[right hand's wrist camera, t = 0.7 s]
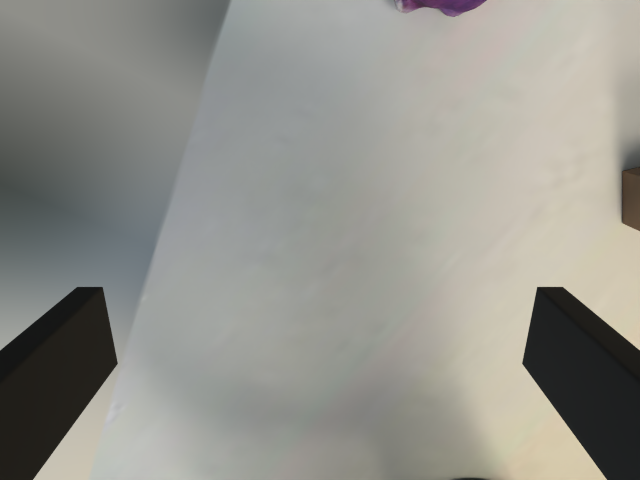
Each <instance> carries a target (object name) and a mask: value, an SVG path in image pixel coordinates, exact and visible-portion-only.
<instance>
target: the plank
mask: <svg viewBox="0 0 640 480" xmlns="http://www.w3.org/2000/svg"><path fill="white" fill-rule="evenodd" d="M623 224H625V225H627V226H630V227H632V228H634V229H636V230H638V231H640V167H638V168H634V169H629V170H625V171H623Z"/></svg>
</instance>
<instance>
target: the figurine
mask: <svg viewBox="0 0 640 480" xmlns="http://www.w3.org/2000/svg"><path fill="white" fill-rule="evenodd" d="M485 1H486V0H394V2H395V6H396V8H397V10H398V11H400V12H402V13H408V12H411V11H413V10H416V9H418V8H421V7H430V8H439V9H440V10H441V11H442V12H443V13H444V14H445V15H447V16H452V17H455V16H458V15H460V14H462V13H464V12H466V11H469V10H472V9H475V8H477V7H478V6H480V5H481V4H482V3H484V2H485Z"/></svg>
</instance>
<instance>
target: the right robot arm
mask: <svg viewBox="0 0 640 480" xmlns="http://www.w3.org/2000/svg"><path fill="white" fill-rule="evenodd" d="M117 364H118V363H117V358H116V353H115V347H114V342H113V338H112V332H111V327H110V322H109V317H108V312H107V307H106V302H105V297H104V292H103V287H77V288H76V289H74V290H73V291H72V292H71V293H69V294H68V295H67V296H66V297H65V298H63V299H62V300H61V301H60V302H59V303H57V304H56V305H55V306H54V307H52V308H51V309H50V310H49V311H48V312H46V313H45V314H44V315H43V316H42V317H40V318H39V319H38V320H37V321H35V322H34V323H33V324H32V325H31V326H29V327H28V328H27V329H26V330H25V331H23V332H22V333H21V334H20V335H19V336H17V337H16V338H15V339H14V340H12V341H11V342H10V343H9V344H8V345H6V346H5V347H4V348H3V349H2V350H0V480H33V479H34V477H35V476H36V475H37V473H38V472H39V471H40V469H41V468H42V467H43V465H44V464H45V462H46V461H47V460H48V458H49V457H50V456H51V454H52V453H53V451H54V450H55V449H56V447H57V446H58V445H59V443H60V442H61V440H62V439H63V438H64V436H65V435H66V434H67V432H68V431H69V430H70V428H71V427H72V425H73V424H74V423H75V421H76V420H77V419H78V417H79V416H80V415H81V413H82V412H83V410H84V409H85V408H86V406H87V405H88V404H89V402H90V401H91V399H92V398H93V397H94V395H95V394H96V393H97V391H98V390H99V389H100V387H101V386H102V384H103V383H104V382H105V380H106V379H107V378H108V376H109V375H110V373H111V372H112V371H113V369H114V368H115V367H116V365H117ZM522 364H523V365H524V367H525V368H526V369H527V371H528V372H529V373H530V375H531V376H532V378H533V379H534V380H535V382H536V383H537V384H538V386H539V387H540V389H541V390H542V391H543V393H544V394H545V395H546V397H547V398H548V399H549V401H550V402H551V404H552V405H553V406H554V408H555V409H556V410H557V412H558V413H559V415H560V416H561V417H562V419H563V420H564V421H565V423H566V424H567V425H568V427H569V428H570V430H571V431H572V432H573V434H574V435H575V436H576V438H577V439H578V441H579V442H580V443H581V445H582V446H583V447H584V449H585V450H586V451H587V453H588V454H589V456H590V457H591V458H592V460H593V461H594V462H595V464H596V465H597V467H598V468H599V469H600V471H601V472H602V473H603V475H604V476H605V477H606V479H607V480H640V350H638V349H637V348H636V347H635V346H634V345H632V344H631V343H630V342H629V341H628V340H626V339H625V338H624V337H623V336H621V335H620V334H619V333H618V332H617V331H615V330H614V329H613V328H612V327H611V326H609V325H608V324H607V323H606V322H605V321H603V320H602V319H601V318H600V317H598V316H597V315H596V314H595V313H594V312H592V311H591V310H590V309H589V308H588V307H586V306H585V305H584V304H583V303H581V302H580V301H579V300H578V299H577V298H575V297H574V296H573V295H572V294H571V293H569V292H568V291H567V290H566V289H564V288H563V287H537V292H536V297H535V302H534V307H533V312H532V317H531V322H530V327H529V332H528V337H527V342H526V347H525V353H524V358H523V363H522Z"/></svg>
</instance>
